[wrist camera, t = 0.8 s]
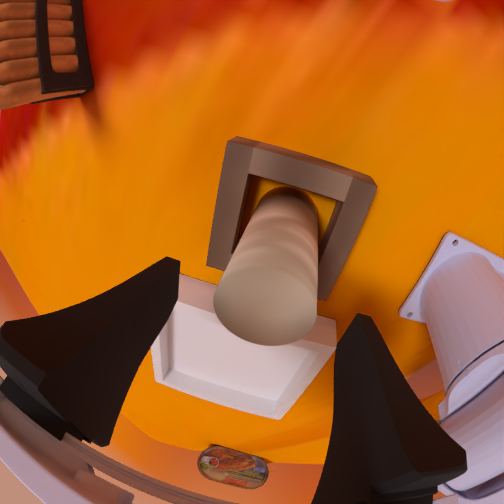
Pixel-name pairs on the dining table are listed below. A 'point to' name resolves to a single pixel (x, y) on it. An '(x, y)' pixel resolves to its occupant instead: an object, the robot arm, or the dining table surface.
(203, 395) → the tray
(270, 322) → the dowel
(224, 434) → the dining table surface
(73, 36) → the ammunition clip
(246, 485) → the tin
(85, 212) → the dining table surface
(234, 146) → the frame
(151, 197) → the dining table surface
